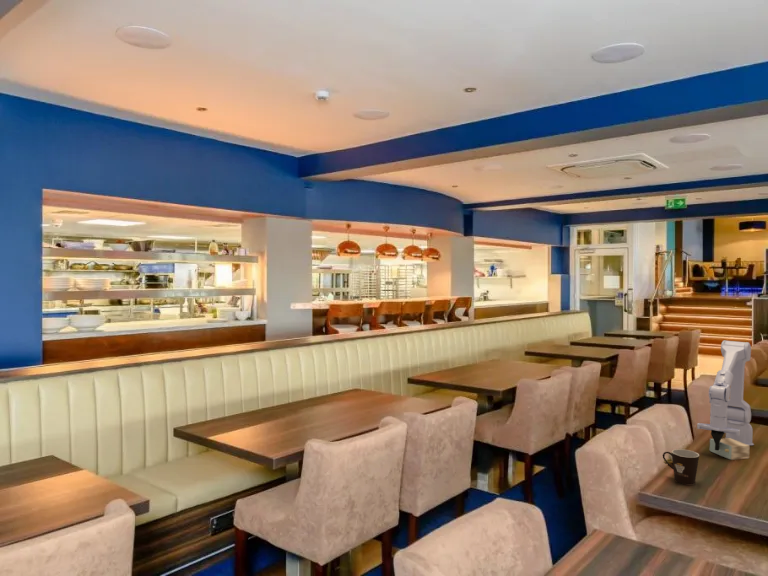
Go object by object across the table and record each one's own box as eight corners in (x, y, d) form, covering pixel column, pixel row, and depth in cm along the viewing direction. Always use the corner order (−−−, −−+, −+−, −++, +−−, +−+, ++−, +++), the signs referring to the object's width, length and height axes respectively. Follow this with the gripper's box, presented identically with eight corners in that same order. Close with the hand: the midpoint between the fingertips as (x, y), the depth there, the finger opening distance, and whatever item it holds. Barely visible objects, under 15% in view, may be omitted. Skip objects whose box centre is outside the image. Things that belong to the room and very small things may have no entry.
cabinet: (729, 450, 235) (729, 438, 235) (749, 458, 226) (749, 445, 225) (712, 451, 234) (712, 439, 234) (731, 459, 224) (731, 447, 224)
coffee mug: (704, 485, 199) (705, 456, 199) (681, 486, 198) (682, 458, 197) (681, 472, 211) (682, 445, 210) (660, 474, 209) (660, 447, 209)
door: (710, 450, 234) (711, 438, 234) (731, 458, 224) (731, 446, 224) (706, 450, 234) (707, 438, 234) (727, 459, 224) (727, 446, 224)
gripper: (695, 414, 229) (694, 448, 229) (738, 421, 219) (736, 456, 220) (699, 411, 234) (698, 444, 235) (741, 417, 225) (740, 451, 225)
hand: (717, 449), depth 228 cm, fingers closed, pressing on door
